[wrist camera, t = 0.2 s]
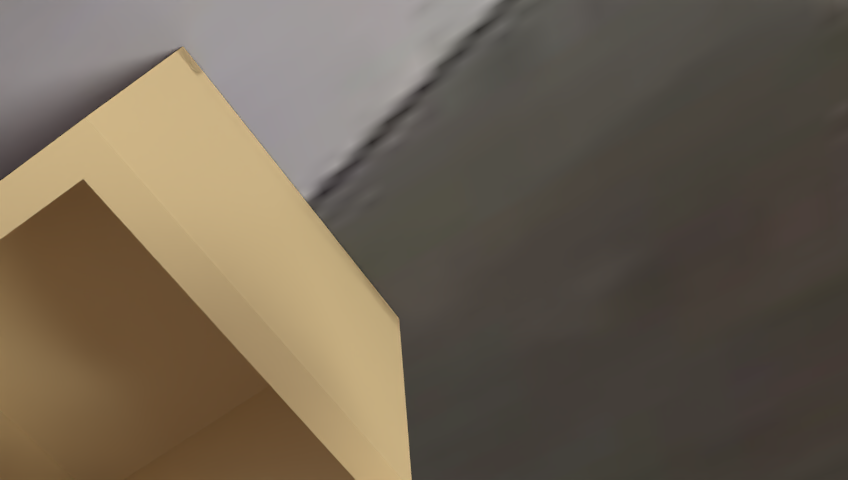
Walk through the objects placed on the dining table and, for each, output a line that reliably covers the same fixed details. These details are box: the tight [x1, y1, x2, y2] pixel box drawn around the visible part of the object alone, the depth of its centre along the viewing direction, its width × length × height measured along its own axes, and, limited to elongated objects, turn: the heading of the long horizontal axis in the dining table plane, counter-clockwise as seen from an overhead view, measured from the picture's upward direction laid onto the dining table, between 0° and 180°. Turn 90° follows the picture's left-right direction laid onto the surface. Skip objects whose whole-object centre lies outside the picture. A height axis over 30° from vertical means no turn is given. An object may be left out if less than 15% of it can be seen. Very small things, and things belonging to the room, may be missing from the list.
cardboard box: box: [0, 47, 412, 480], centre depth 20 cm, size 10×12×8 cm
